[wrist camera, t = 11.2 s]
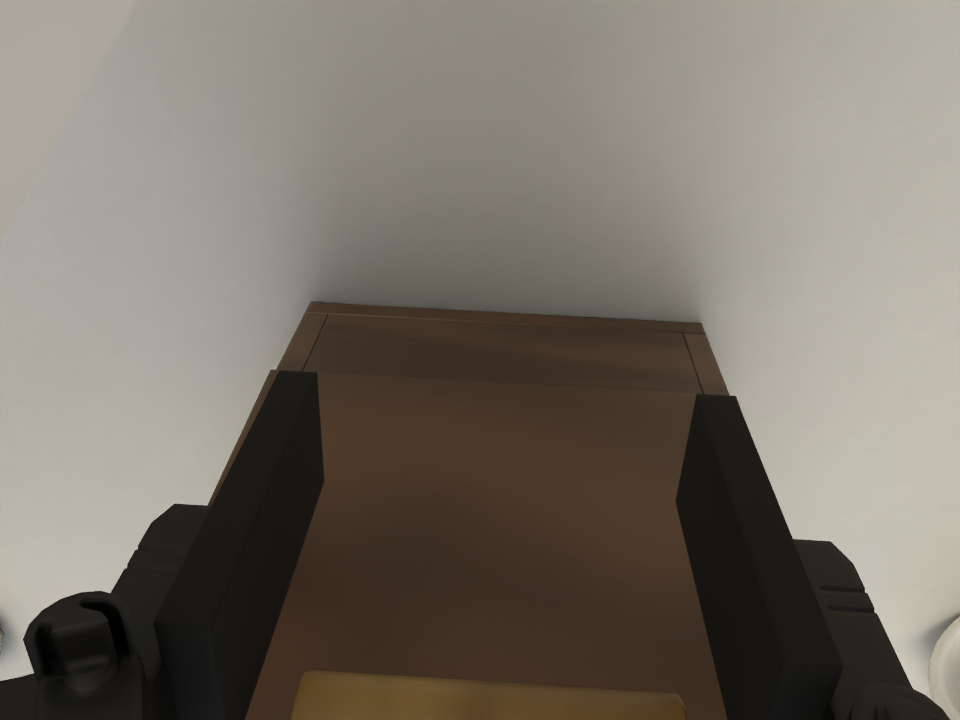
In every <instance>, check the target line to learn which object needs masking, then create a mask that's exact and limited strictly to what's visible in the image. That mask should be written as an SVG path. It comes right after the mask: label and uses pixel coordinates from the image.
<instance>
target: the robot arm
mask: <svg viewBox="0 0 960 720" xmlns="http://www.w3.org/2000/svg"><path fill="white" fill-rule="evenodd" d="M324 481H325V479H324V465H323V450H322V436H321V422H320V407H319V393H318V378H317V372H304V371H286V370H279V372H278V374H277V376H276V378H275V380H274V382H273V384H272V386H271V388H270V390H269V392H268V394H267V396H266V398H265V400H264V402H263V404H262V406H261V408H260V410H259V412H258V414H257V416H256V418H255V420H254V422H253V424H252V426H251V428H250V430H249V432H248V434H247V436H246V438H245V440H244V442H243V444H242V446H241V448H240V450H239V452H238V454H237V456H236V458H235V460H234V462H233V464H232V466H231V468H230V470H229V472H228V474H227V476H226V478H225V480H224V482H223V484H222V486H221V488H220V490H219V492H218V494H217V496H216V498H215V500H214V502H213V504H212V506H202V505H186V504H174V505H173V506H171V507H170V508H169V509H168V510H167V511H165V512H164V513H163V514H162V515H160V516H159V517H158V518H157V519H156V520H154V521H153V522H152V523H151V524H150V526H149V528H148V530H147V531H146V533H145V535H144V536H143V538H142V540H141V542H140V543H139V545H138V550H135V552H134V554H133V555H132V557H131V559H130V561H129V562H128V566H127V569H124V571H123V573H122V574H121V576H120V578H119V580H118V581H117V583H116V585H115V587H114V588H113V590H112V592H111V593H106V592H102V591H95V592H82V593H78V594H75V595H72V596H69V597H66V598H63V599H60V600H59V601H57V602H55V603H54V604H52V605H50V606H49V607H47V608H45V609H44V610H42V611H41V613H40V614H39V615H38V616H37V617H36V618H35V619H34V620H33V621H32V622H31V623H30V624H29V626H28V629H27V631H26V634H25V636H24V639H23V641H24V644H25V647H26V650H27V653H28V656H29V659H30V662H31V665H32V668H33V671H34V673H33V674H30V675H26V676H23V677H19V678H14V679H9V680H4V681H0V720H245V718H246V715H247V712H248V709H249V706H250V703H251V700H252V697H253V694H254V691H255V688H256V685H257V682H258V679H259V676H260V673H261V670H262V667H263V664H264V661H265V658H266V655H267V652H268V649H269V646H270V643H271V640H272V637H273V634H274V631H275V628H276V625H277V622H278V619H279V616H280V613H281V610H282V607H283V604H284V601H285V598H286V595H287V592H288V589H289V586H290V583H291V580H292V577H293V574H294V571H295V568H296V565H297V562H298V559H299V556H300V553H301V550H302V547H303V544H304V541H305V538H306V535H307V532H308V529H309V526H310V523H311V520H312V517H313V514H314V511H315V508H316V505H317V502H318V499H319V496H320V493H321V490H322V487H323V484H324ZM675 502H676V506H677V511H678V515H679V519H680V523H681V527H682V531H683V536H684V540H685V544H686V548H687V552H688V557H689V561H690V565H691V569H692V573H693V578H694V582H695V586H696V590H697V594H698V598H699V603H700V607H701V611H702V615H703V619H704V624H705V628H706V632H707V636H708V640H709V644H710V649H711V653H712V657H713V661H714V665H715V670H716V674H717V678H718V682H719V686H720V691H721V695H722V699H723V703H724V707H725V711H726V716H727V720H950V719H949V717H948V716H947V715H946V713H945V712H944V710H943V709H942V708H941V707H939V706H938V705H937V704H936V703H934V702H933V701H932V700H931V699H929V698H928V697H927V696H926V695H924V694H922V693H920V692H918V691H916V690H914V689H913V688H912V686H911V684H910V682H909V680H908V678H907V676H906V674H905V672H904V670H903V667H902V665H901V663H900V661H899V659H898V657H897V655H896V653H895V651H894V649H893V646H892V644H891V642H890V640H889V638H888V636H887V634H886V632H885V630H884V628H883V625H882V623H881V621H880V619H879V617H878V615H877V613H874V607H873V604H872V602H871V600H870V598H869V596H868V594H867V593H865V588H864V586H863V583H862V581H861V579H860V577H859V575H858V573H857V571H856V569H855V567H854V565H853V563H852V562H851V561H850V560H849V559H848V558H847V557H846V556H845V555H844V554H843V553H842V552H841V551H840V550H839V549H838V548H837V547H836V546H835V545H834V544H833V543H832V542H830V541H813V540H797V539H792V536H791V534H790V531H789V529H788V526H787V524H786V521H785V519H784V516H783V514H782V511H781V509H780V506H779V504H778V501H777V499H776V496H775V494H774V491H773V489H772V487H771V484H770V482H769V479H768V477H767V474H766V472H765V469H764V467H763V464H762V462H761V459H760V457H759V454H758V452H757V449H756V447H755V444H754V442H753V439H752V437H751V434H750V432H749V429H748V427H747V424H746V422H745V419H744V417H743V414H742V412H741V409H740V407H739V405H738V402H737V400H736V397H735V396H728V395H710V394H696V399H695V404H694V409H693V414H692V419H691V424H690V429H689V434H688V440H687V445H686V450H685V455H684V460H683V465H682V470H681V475H680V480H679V485H678V491H677V496H676V501H675Z"/></svg>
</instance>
